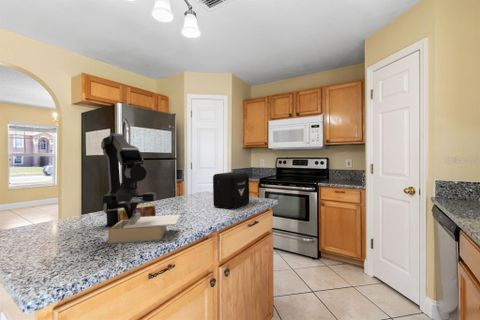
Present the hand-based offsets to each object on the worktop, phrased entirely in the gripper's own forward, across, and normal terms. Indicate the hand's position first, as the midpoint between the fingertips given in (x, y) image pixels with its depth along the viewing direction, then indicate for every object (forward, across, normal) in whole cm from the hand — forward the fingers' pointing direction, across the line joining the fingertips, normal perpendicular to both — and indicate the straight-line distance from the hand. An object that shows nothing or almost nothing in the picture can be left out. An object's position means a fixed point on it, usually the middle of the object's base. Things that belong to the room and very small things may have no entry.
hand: (130, 219), depth 91 cm
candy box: (+2, +6, +17) cm, 18 cm away
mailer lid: (+1, +9, 0) cm, 9 cm away
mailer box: (+7, +3, 0) cm, 7 cm away
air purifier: (+7, +45, +47) cm, 66 cm away
